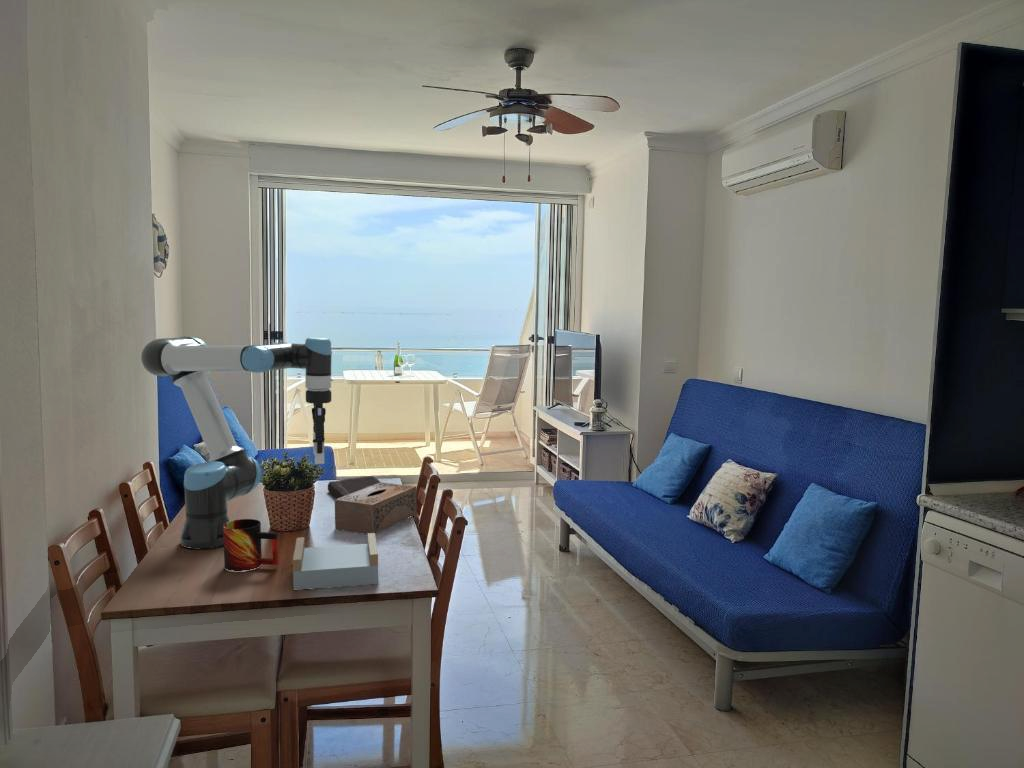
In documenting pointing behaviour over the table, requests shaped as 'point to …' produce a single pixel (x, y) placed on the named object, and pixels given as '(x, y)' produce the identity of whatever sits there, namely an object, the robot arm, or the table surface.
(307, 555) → the notched stand
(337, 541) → the table surface
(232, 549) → the mug
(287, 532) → the table surface
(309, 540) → the table surface
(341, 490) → the diary
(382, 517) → the tissue box cover
